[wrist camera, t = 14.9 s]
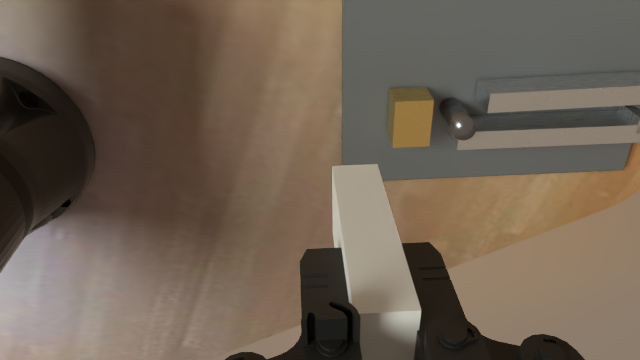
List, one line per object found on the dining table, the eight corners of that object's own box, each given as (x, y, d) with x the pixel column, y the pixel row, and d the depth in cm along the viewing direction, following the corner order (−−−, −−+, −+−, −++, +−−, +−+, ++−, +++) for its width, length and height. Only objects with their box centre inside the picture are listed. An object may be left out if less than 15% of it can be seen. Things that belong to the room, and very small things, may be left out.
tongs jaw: (474, 105, 43) (486, 120, 41) (477, 79, 42) (490, 93, 40) (650, 95, 44) (672, 110, 41) (658, 70, 43) (682, 83, 40)
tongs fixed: (436, 133, 45) (450, 157, 41) (440, 97, 43) (454, 119, 39) (638, 124, 46) (669, 148, 42) (650, 89, 44) (683, 110, 40)
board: (341, 175, 48) (342, 182, 47) (342, -32, 39) (344, -29, 38) (616, 163, 49) (623, 169, 48) (682, -42, 40) (692, -39, 39)
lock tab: (386, 132, 44) (392, 147, 42) (389, 88, 42) (395, 101, 40) (421, 131, 44) (429, 146, 42) (425, 86, 42) (434, 100, 40)
